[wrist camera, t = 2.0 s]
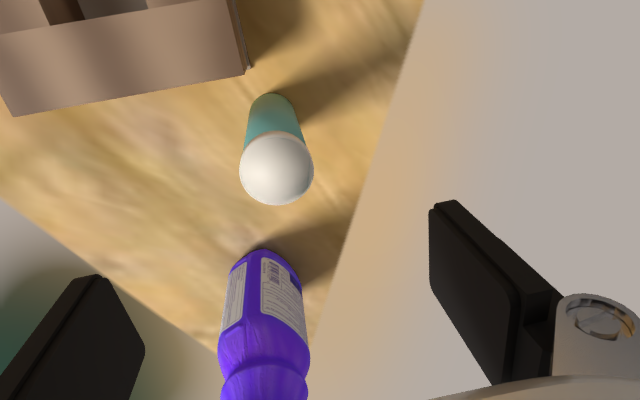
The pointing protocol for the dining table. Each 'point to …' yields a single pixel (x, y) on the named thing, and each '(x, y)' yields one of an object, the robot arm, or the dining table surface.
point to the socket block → (113, 49)
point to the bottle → (263, 331)
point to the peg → (275, 153)
